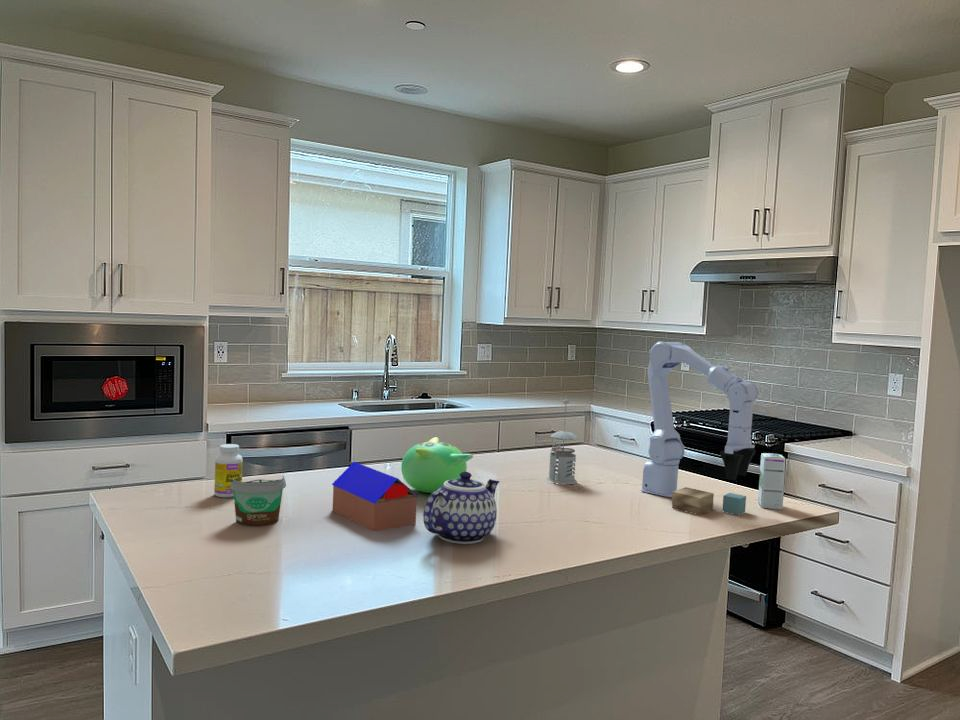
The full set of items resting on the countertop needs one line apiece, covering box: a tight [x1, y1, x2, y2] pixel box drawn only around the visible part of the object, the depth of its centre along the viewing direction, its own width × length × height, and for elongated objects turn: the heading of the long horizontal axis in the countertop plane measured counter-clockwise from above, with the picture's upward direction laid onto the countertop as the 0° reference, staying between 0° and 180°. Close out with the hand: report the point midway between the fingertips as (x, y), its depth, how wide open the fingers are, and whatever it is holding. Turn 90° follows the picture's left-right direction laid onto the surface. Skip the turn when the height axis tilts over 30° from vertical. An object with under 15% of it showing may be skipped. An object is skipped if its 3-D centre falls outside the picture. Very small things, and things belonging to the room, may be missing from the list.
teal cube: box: [721, 492, 747, 516], centre depth 194 cm, size 4×4×4 cm
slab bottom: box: [671, 500, 714, 516], centre depth 195 cm, size 8×8×2 cm
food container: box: [230, 475, 287, 528], centre depth 163 cm, size 12×6×10 cm, turn 117°
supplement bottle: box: [213, 443, 244, 499], centre depth 186 cm, size 7×7×13 cm
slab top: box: [671, 486, 715, 507], centre depth 195 cm, size 8×8×2 cm
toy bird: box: [400, 436, 474, 494], centre depth 199 cm, size 18×17×15 cm
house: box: [331, 461, 418, 532], centre depth 173 cm, size 12×20×12 cm, turn 39°
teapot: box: [423, 471, 500, 545], centre depth 161 cm, size 25×15×15 cm, turn 139°
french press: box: [546, 399, 578, 485], centre depth 219 cm, size 10×12×25 cm
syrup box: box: [757, 452, 786, 511], centre depth 201 cm, size 6×6×14 cm
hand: (736, 477), depth 194 cm, fingers open, 7 cm apart
